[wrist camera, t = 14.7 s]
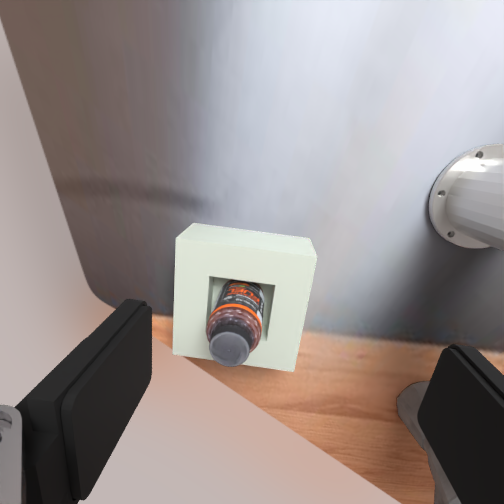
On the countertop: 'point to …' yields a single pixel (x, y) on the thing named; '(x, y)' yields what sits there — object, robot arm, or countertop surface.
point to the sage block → (246, 269)
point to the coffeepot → (424, 440)
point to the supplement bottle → (235, 322)
